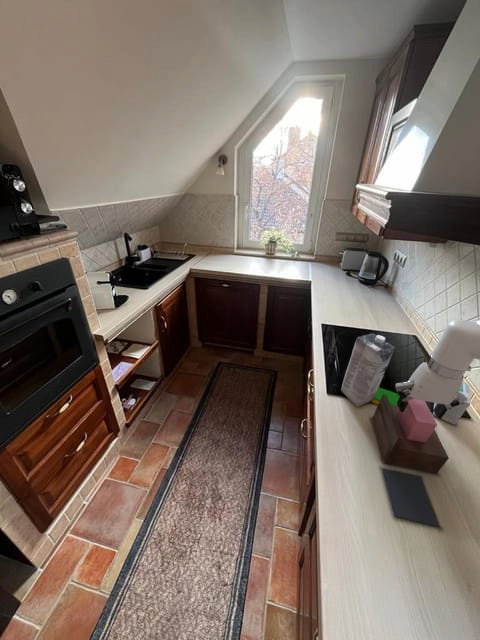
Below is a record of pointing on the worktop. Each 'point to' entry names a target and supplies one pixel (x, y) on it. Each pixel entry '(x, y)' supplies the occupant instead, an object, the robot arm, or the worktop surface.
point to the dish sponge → (391, 396)
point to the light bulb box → (457, 407)
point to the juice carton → (366, 368)
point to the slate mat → (409, 497)
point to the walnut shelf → (405, 442)
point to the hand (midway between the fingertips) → (418, 411)
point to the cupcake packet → (417, 421)
